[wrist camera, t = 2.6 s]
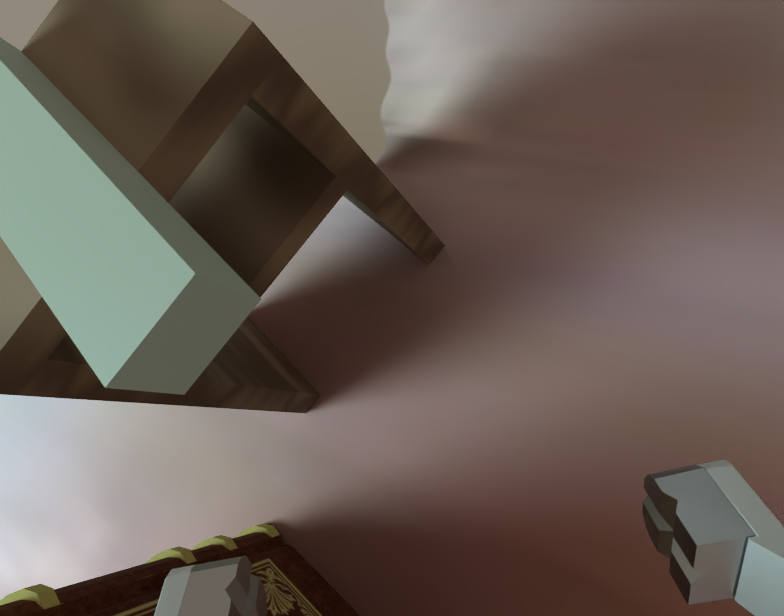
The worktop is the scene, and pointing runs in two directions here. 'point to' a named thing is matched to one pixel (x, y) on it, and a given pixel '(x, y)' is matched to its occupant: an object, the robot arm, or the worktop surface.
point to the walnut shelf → (198, 179)
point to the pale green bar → (107, 244)
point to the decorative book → (145, 582)
